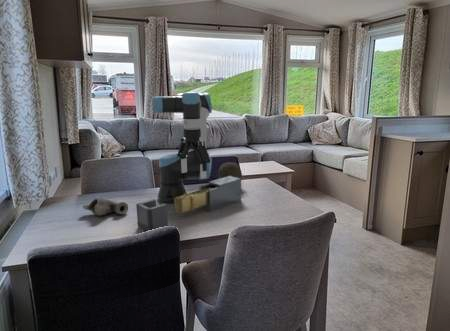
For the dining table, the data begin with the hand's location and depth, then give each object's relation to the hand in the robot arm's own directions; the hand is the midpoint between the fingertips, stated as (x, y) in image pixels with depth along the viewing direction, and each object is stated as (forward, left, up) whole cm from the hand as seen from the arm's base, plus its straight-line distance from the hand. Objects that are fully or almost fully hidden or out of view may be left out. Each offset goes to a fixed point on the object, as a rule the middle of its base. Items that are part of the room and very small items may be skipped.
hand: (193, 175), depth 147 cm
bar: (0, +6, -15) cm, 16 cm away
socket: (0, -23, -18) cm, 29 cm away
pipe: (-28, -30, -19) cm, 45 cm away
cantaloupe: (-15, +38, -19) cm, 45 cm away
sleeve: (0, +16, -18) cm, 25 cm away
